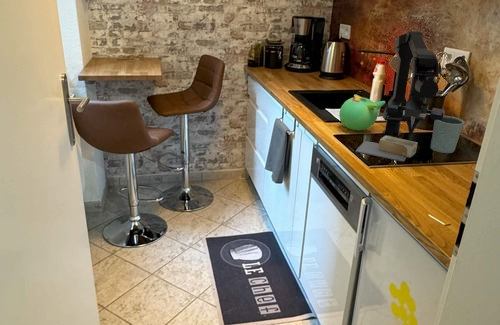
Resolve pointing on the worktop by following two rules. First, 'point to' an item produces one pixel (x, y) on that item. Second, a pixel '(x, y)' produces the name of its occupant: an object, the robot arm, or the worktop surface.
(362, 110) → the green teapot
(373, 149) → the mat
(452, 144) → the grey cup
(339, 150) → the worktop surface
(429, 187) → the worktop surface
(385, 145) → the skincare box
